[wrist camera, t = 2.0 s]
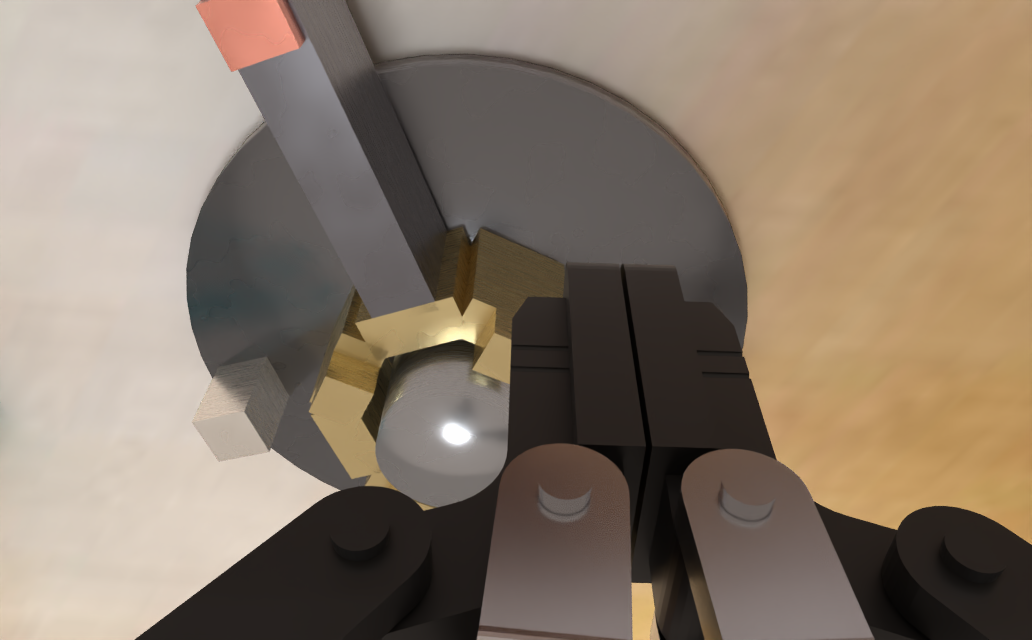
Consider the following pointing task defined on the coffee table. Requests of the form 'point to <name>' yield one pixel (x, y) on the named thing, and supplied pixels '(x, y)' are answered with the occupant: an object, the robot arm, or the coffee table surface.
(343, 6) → the grey and gold lever
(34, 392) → the coffee table surface
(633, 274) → the robot arm
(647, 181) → the plate and cap
